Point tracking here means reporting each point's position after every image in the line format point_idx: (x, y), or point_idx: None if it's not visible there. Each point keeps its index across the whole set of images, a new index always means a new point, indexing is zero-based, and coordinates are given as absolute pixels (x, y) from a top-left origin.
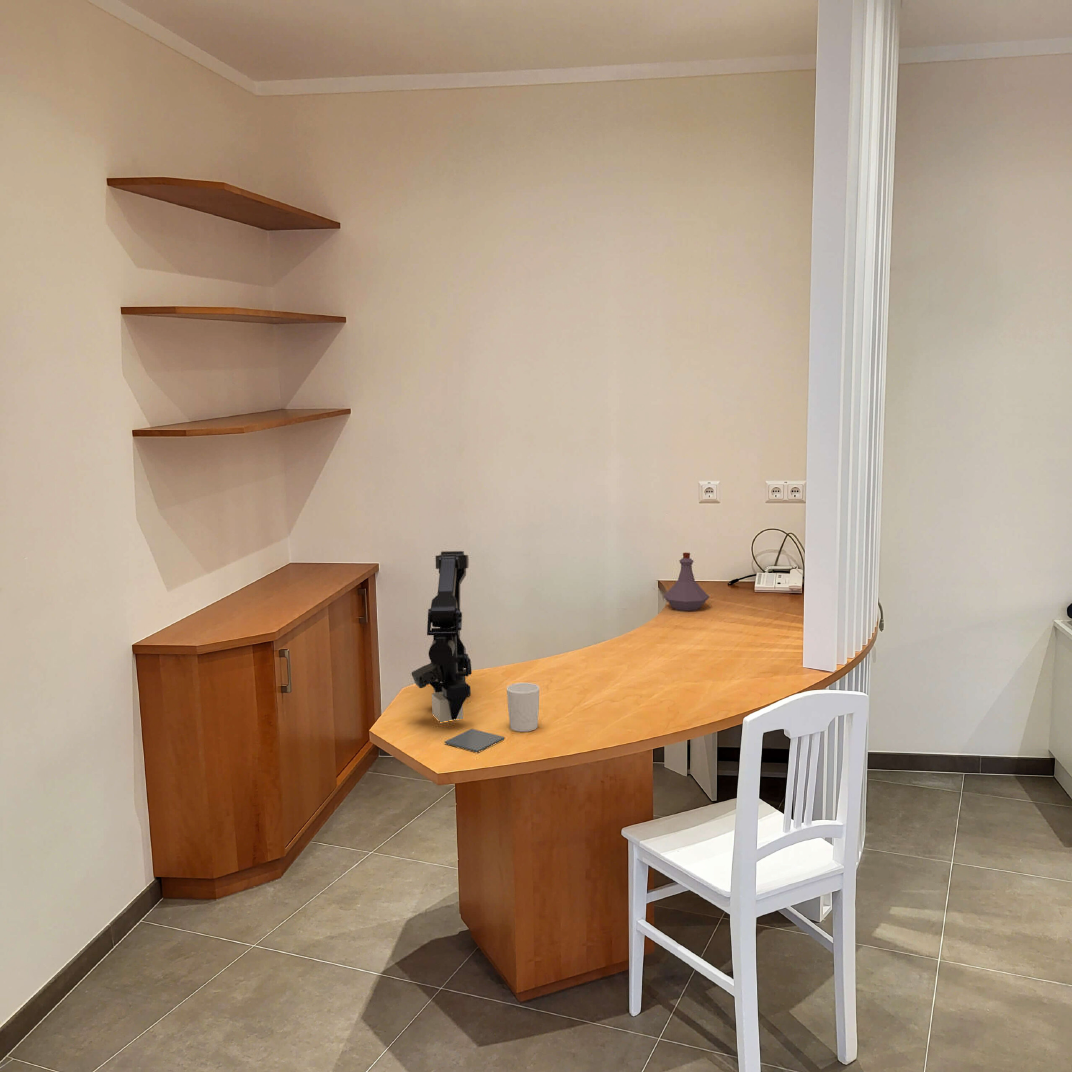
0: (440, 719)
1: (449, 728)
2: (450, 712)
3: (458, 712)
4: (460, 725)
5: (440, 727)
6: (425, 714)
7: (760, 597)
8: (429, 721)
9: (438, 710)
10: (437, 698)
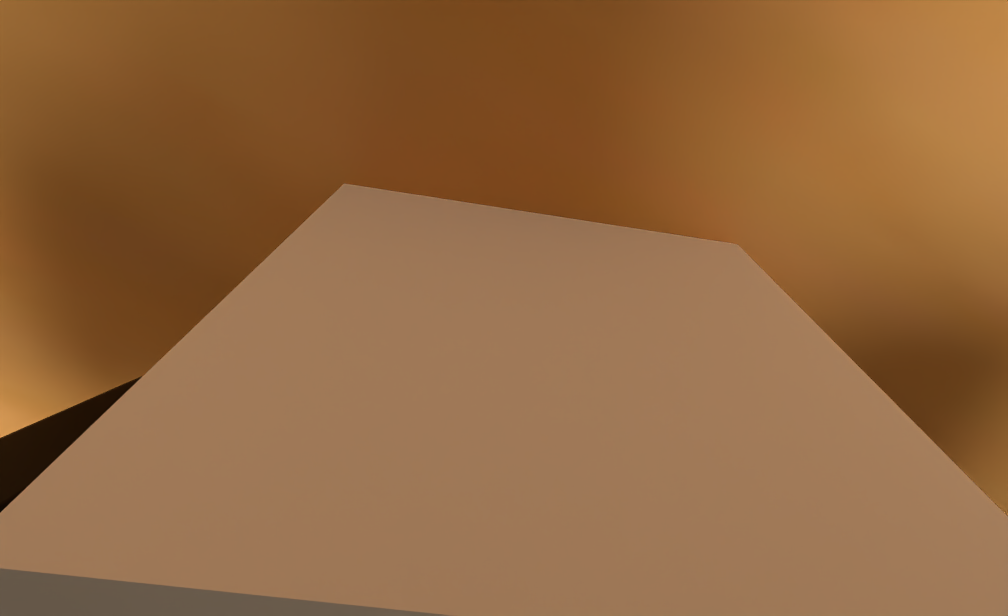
0: (320, 211)
1: (54, 195)
2: (97, 418)
3: None
4: (144, 365)
5: (143, 89)
6: (893, 179)
7: None
8: (538, 65)
9: (363, 288)
10: (313, 606)
